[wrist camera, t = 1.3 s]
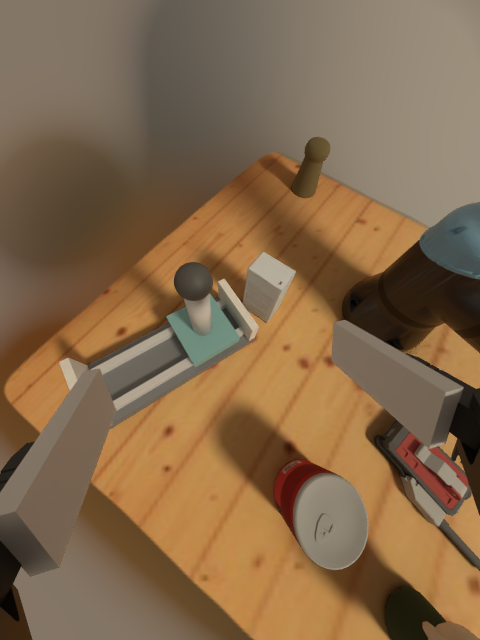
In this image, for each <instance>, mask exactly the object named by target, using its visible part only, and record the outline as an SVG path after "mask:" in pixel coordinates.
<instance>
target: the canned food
mask: <svg viewBox="0 0 480 640" xmlns="http://www.w3.org/2000/svg"><path fill="white" fill-rule="evenodd" d="M274 498H275V503H276V506H277V508H278V511H279V512H280V514H281V515H282V517H283V519H284V520H285V522H286V524H287V525H288V527H289V528H290V530H291V532H292V533H293V535H294V537H295V538H296V540H297V541H298V543H299V545H300V546H301V547H302V549H303V551H304V552H305V553H306V554H307V555H308V556H309V558H311V560H312V561H314V562H315V563H316V564H318V565H319V566H321V567H323V568H326V569H331V570H340V569H344V568H346V567H349V566H350V565H351V564H353V563H354V562H355V561H356V560H357V559H358V558H359V557H360V555H361V553H362V552H363V550H364V548H365V545H366V541H367V537H368V516H367V511H366V508H365V505H364V502H363V500H362V498H361V496H360V494H359V493H358V492H357V490H356V489H355V488H354V487H353V486H352V485H351V484H350V483H349V482H348V481H347V480H345V479H344V478H342V477H341V476H339V475H337V474H335V473H333V472H331V471H329V470H326V469H324V468H322V467H320V466H318V465H315V464H313V463H311V462H309V461H306V460H294V461H291V462H289V463H287V464H286V465H285V466H284V467H283V468H282V469H281V470H280V472H279V474H278V476H277V478H276V481H275V486H274Z"/></svg>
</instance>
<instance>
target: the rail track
mask: <svg viewBox="0 0 480 640" xmlns="http://www.w3.org/2000/svg"><path fill="white" fill-rule="evenodd" d="M214 300H215V301H216V303H217V304H218V306H219V307H220V309H221V310H222V311H223V313H224V314H225V316H226V317H227V319H228V320H229V322H230V323H231V325H232V326H233V328H234V329H235V331H236V332H237V334H238V335H239V337H240V339H239V342H237V343H235V344H234V345H232V346H230V347H229V348H227V349H225V350H224V351H222V352H221V353H219V354H217V355H216V356H214V357H212V358H211V359H209V360H207V361H206V362H204V363H202V364H201V365H199V366H197V367H196V368H195V366H194V364H193V363H192V361H191V359H190V357H189V356H188V354H187V352H186V351H185V349H184V347H183V345H182V344H181V342H180V340H179V338H178V337H177V335H176V333H175V332H174V330H173V328H172V326H171V325H170V323H167V324H165V325H163V326H161V327H159V328H157V329H156V330H154V331H152V332H150V333H148V334H146V335H144V336H142V337H140V338H138V339H137V340H135V341H133V342H131V343H129V344H127V345H125V346H123V347H121V348H120V349H118V350H116V351H114V352H112V353H110V354H108V355H106V356H104V357H102V358H101V359H99V360H97V361H95V362H93V363H91V364H89V365H85V364H83V363H80V362H78V361H76V360H73V359H71V358H66V359H64V360H62V361H60V362H59V363H60V366H61V369H62V371H63V374H64V376H65V379H66V382H67V384H68V387H69V389H70V390H71V389H72V388H73V386H74V385H75V383H76V382H77V380H78V379H79V377H80V376H81V375H82V373H83V372H84V371H89V370H94V369H99V368H100V370H101V373H102V375H103V378H104V380H105V383H106V385H107V388H108V390H109V393H110V395H111V398H112V400H113V403H114V405H115V408H116V413H115V415H114V418H113V421H112V423H111V426H110V429H111V428H113V427H114V426H116V425H118V424H119V423H121V422H122V421H124V420H126V419H127V418H129V417H131V416H132V415H134V414H135V413H137V412H139V411H140V410H142V409H144V408H145V407H147V406H148V405H150V404H152V403H153V402H155V401H157V400H158V399H160V398H162V397H163V396H165V395H166V394H168V393H170V392H171V391H173V390H175V389H176V388H178V387H179V386H181V385H183V384H184V383H186V382H188V381H189V380H191V379H192V378H194V377H196V376H197V375H199V374H201V373H202V372H204V371H205V370H207V369H209V368H210V367H212V366H214V365H215V364H217V363H218V362H220V361H222V360H223V359H225V358H227V357H228V356H230V355H231V354H233V353H235V352H236V351H238V350H240V349H241V348H243V347H245V346H246V345H248V344H249V343H251V342H253V341H254V338H255V336H256V333H257V331H258V328H259V326H258V325H257V323H256V322H255V321H254V319H253V318H252V316H251V315H250V314H249V312H248V311H247V309H246V308H245V307H244V305H243V304H242V302H241V301H240V300H239V298H238V297H237V296H236V294H235V293H234V291H233V290H232V289H231V287H230V286H229V284H228V283H227V282H226V280H225V279H222V280H220V281H218V297H216V298H214Z"/></svg>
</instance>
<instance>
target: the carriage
mask: <svg viewBox="0 0 480 640" xmlns="http://www.w3.org/2000/svg"><path fill="white" fill-rule="evenodd" d="M174 286H175V289H176V291H177V292H178V294H179V295H180V296H181V297H183V298H184V301H185V305H186V306H185V307H183V308H181V309H179V310H177V311H176V312H174V313H172V314H170V315H168V316H166V317H167V319H168V321H169V323H170V325H171V326H172V328H173V330H174V332H175V333H176V335H177V337H178V338H179V340H180V342H181V344H182V345H183V347H184V349H185V351H186V352H187V354H188V356H189V357H190V359H191V361H192V363H193V364H194V366H195V368H196V367H197V366H199V365H201V364H202V363H204V362H206V361H207V360H209V359H211V358H212V357H214V356H216V355H217V354H219V353H221V352H222V351H224V350H225V349H227V348H229V347H230V346H232V345H234V344H235V343H237V342H239V339H240V337H239V335H238V334H237V332H236V331H235V329H234V328H233V326H232V325H231V323H230V322H229V320H228V319H227V317H226V316H225V314H224V313H223V311H222V310H221V309H220V307H219V306H218V304H217V303H216V301H215V300H214V298H213V297H212V295H211V294H209V293H210V291H211V289H212V286H213V279H212V275H211V273H210V271H209V270H208V269H207V268H206V267H205V266H204V265H202V264H199V263H195V262H190V263H186V264H184V265H182V266H181V267H180V268H179V269H178V270H177V272H176V274H175V277H174Z"/></svg>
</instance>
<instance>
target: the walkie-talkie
mask: <svg viewBox="0 0 480 640" xmlns="http://www.w3.org/2000/svg"><path fill="white" fill-rule="evenodd" d="M379 439H381V440H380V441H378V440H379ZM374 442H375V444H376V446H377V447H378V448H379V449H380V450H381V451H382V452H383V453H384V454H385V455H386V457H387V458H388V459H389V460H390V461H391V462H392V463H393V464H394V465H395V466H396V468H397V469H398V471H399V474H400V475H401V476H400V478H401V479H402V482H403V486H404V490H405V493H406V496H407V497H408V498H409V500H410V501H411V502H412V503H413V504H414V505H415V506H416V507H417V509H418V510H419V511H420V512H421V513H422V514H423V516H424V518H425V519H426V520H427V521H428V522H429V523H431V524H433V525H435V526H437V527H439V528H440V529H441V530H443V531H444V532H445V533H446V534H447V535H448V536H449V537H450V539H451V540H452V541H453V542H454V543H455V544H456V545H457V546H458V547H459V549H460V550H461V551H462V552H463V553H464V554H465V555H466V556H467V557H468V558H469V560H470V561H471V562H472V563H473V564H474V565H475V566H476V567H477V568H478V569H479V571H480V559H479V558H478V557H477V556H476V555H475V554H474V553H473V552H472V551H471V550H470V548H469V547H468V546H467V545H466V544H465V543H464V542H463V541H462V540H461V539H460V537H459V536H458V535H457V534H456V533H455V532H454V531H453V530H452V529H451V528H450V526H449V524H448V523H447V522H446V521H445V520H444V517H445V516H446V514H448V515H451V516H453V515H454V514H456V513H458V512H459V508H460V507H461V505H462V503H463V502H464V500H466V499H468V498H470V496H471V493H472V492H471V488H470V485H469V482H468V479H467V477H466V474H465V472H464V471H463V470H462V469H461V468H460V467H459V466H458V465H457V464H456V463H455V462H454V461H452V460H451V458H450V457H449V456H448V455H447V454H446V453H444V452H443V450H442V449H440V447H439V446H437V447H434V448H431V449H429V448H428V447H426V446H425V445H424V444H423V443H422V442H421V441H420V440H419V439H418V438H416V437H415V436H414V435H413V434H412V433H411V432H410V431H409V430H408V429H406V428H405V427H404V426H403V425H402V424H401V423H400V422H399V421H398V420H396V421H395V423H394V424H393V425H392V426H391V428H390V429H389V430H388V431H387V432H386V434H385V435H384V436H383V437H382V436H379V435H377V436H376V437H375V438H374Z"/></svg>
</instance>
